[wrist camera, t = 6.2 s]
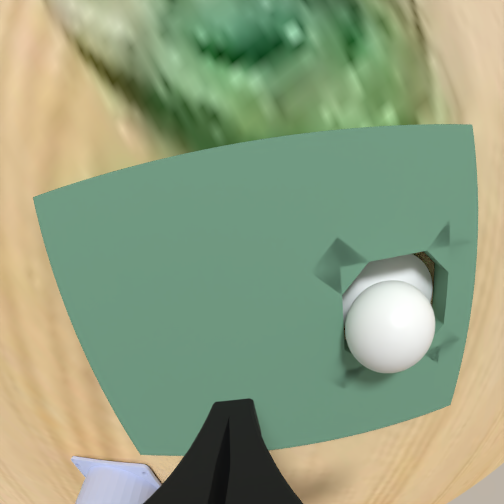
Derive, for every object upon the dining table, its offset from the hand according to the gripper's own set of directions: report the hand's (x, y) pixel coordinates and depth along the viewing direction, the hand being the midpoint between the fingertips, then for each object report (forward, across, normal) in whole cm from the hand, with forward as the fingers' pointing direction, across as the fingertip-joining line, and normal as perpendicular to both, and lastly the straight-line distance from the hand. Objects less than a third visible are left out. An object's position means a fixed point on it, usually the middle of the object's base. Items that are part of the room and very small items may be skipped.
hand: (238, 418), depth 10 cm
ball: (+4, -7, 0) cm, 8 cm away
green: (+7, -2, 0) cm, 7 cm away
